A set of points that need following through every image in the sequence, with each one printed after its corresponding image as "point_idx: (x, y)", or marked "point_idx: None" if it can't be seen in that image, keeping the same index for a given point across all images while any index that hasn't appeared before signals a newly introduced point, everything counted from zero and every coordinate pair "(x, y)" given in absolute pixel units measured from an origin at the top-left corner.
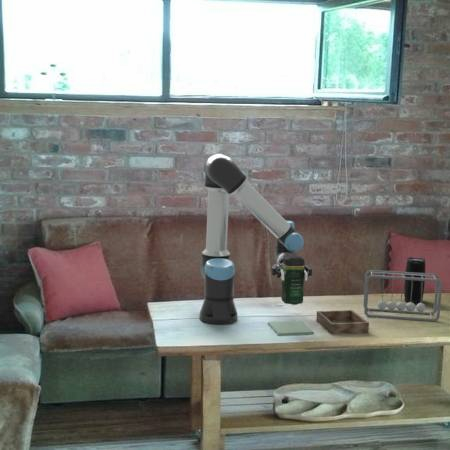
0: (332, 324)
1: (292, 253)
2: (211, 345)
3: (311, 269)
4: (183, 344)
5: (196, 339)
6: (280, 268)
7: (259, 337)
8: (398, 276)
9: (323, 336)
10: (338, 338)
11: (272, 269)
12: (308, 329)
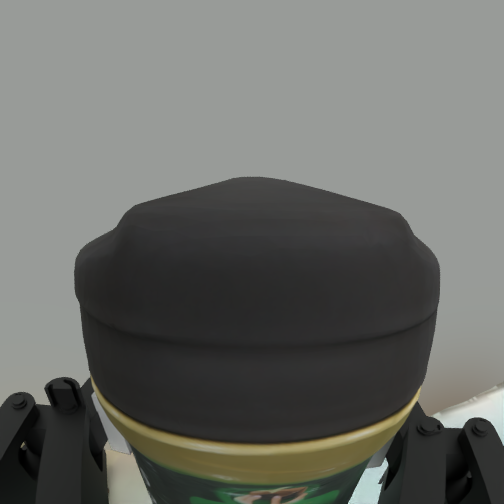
0: None
1: (253, 192)
2: (458, 405)
3: (19, 393)
4: (501, 395)
5: (499, 421)
6: (419, 467)
7: (368, 476)
8: None
9: (144, 483)
10: (107, 459)
11: (487, 427)
12: None
